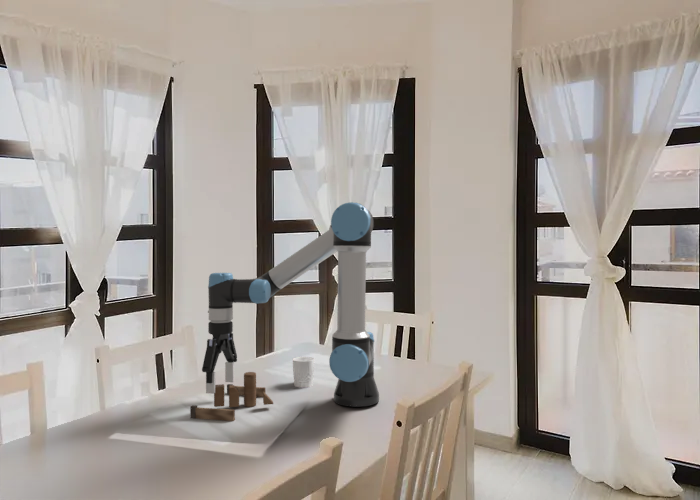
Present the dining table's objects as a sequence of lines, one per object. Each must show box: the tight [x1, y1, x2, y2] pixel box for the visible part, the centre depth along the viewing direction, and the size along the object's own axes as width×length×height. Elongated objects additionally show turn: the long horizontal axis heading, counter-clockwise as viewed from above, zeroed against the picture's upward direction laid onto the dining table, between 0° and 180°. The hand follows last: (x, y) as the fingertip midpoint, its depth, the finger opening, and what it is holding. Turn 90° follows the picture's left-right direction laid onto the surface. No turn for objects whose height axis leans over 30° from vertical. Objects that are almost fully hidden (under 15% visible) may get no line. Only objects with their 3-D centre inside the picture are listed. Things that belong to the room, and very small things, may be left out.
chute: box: [189, 383, 267, 422], centre depth 165 cm, size 14×26×4 cm, turn 168°
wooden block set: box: [213, 371, 274, 408], centre depth 163 cm, size 18×9×10 cm, turn 104°
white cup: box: [292, 356, 315, 389], centre depth 189 cm, size 8×8×10 cm
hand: (220, 387), depth 165 cm, fingers open, 13 cm apart
